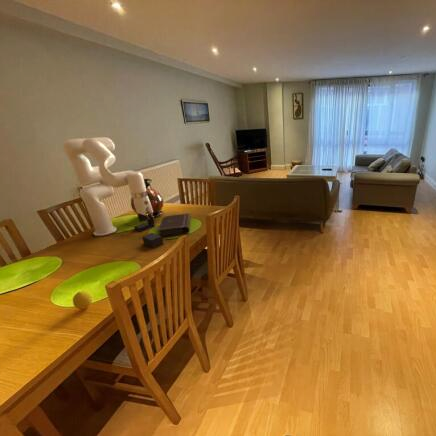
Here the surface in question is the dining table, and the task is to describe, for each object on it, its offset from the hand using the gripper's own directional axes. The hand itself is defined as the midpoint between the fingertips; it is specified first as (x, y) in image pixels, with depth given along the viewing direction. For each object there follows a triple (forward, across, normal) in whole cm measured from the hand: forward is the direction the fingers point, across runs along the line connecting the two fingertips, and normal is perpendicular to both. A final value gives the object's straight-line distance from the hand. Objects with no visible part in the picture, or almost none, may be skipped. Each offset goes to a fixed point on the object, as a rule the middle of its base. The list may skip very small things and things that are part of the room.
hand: (147, 222), depth 140 cm
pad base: (+13, -2, 0) cm, 13 cm away
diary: (+14, +8, -21) cm, 26 cm away
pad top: (+14, +26, -9) cm, 31 cm away
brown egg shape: (+13, -31, +44) cm, 56 cm away
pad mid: (+11, -2, 0) cm, 11 cm away
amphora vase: (+14, +45, -24) cm, 53 cm away
